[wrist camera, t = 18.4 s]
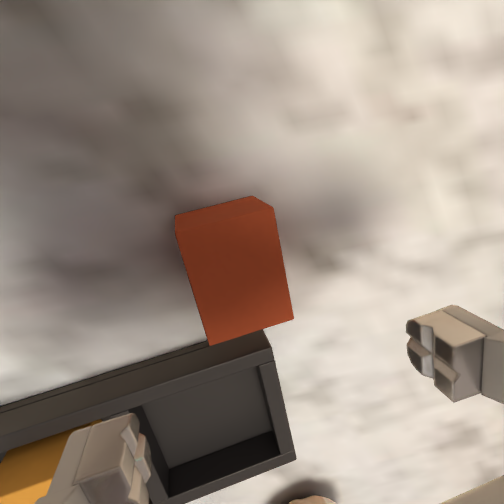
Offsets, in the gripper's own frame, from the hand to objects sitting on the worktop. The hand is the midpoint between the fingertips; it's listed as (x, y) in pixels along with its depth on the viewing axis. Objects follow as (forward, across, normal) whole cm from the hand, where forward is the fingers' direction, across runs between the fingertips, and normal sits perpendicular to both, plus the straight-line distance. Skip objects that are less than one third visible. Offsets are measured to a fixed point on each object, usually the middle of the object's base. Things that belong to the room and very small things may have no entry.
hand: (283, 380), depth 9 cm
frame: (+10, +8, +9) cm, 16 cm away
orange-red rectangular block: (+10, 0, -1) cm, 10 cm away
